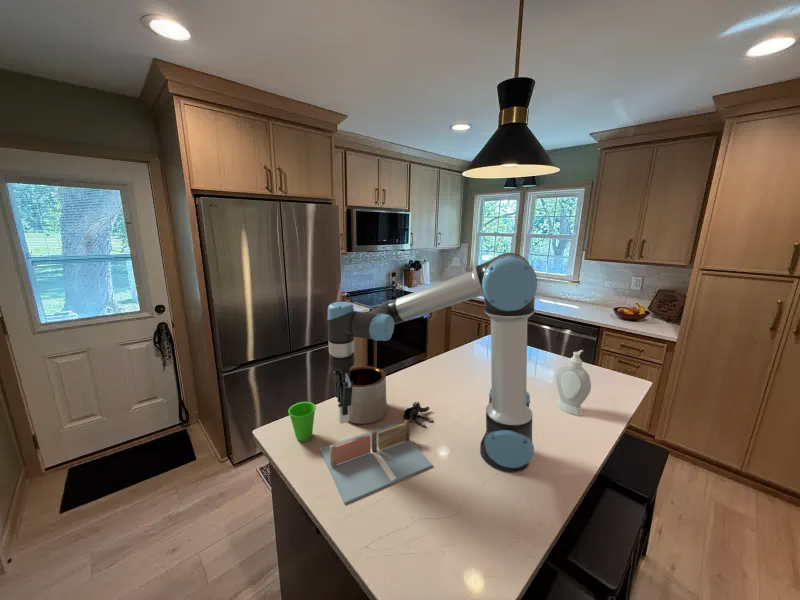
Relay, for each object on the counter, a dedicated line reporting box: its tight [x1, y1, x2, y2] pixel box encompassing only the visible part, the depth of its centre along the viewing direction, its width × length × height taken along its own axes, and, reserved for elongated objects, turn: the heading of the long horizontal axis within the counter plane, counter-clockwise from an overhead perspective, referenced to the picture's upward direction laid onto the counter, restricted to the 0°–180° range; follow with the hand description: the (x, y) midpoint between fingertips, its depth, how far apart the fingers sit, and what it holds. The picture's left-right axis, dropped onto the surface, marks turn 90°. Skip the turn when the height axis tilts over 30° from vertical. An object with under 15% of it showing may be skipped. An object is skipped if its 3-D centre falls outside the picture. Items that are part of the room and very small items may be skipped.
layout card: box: [319, 422, 433, 505], centre depth 101 cm, size 24×28×1 cm
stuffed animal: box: [402, 401, 434, 427], centre depth 124 cm, size 12×10×12 cm
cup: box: [287, 401, 317, 443], centre depth 110 cm, size 9×9×11 cm
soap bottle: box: [555, 349, 592, 417], centre depth 125 cm, size 13×8×24 cm, turn 39°
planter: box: [348, 365, 388, 425], centre depth 124 cm, size 18×18×16 cm
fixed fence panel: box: [371, 420, 411, 453], centre depth 106 cm, size 2×14×8 cm, turn 119°
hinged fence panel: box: [329, 434, 371, 467], centre depth 99 cm, size 13×2×6 cm, turn 119°
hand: (343, 421), depth 103 cm, fingers closed
